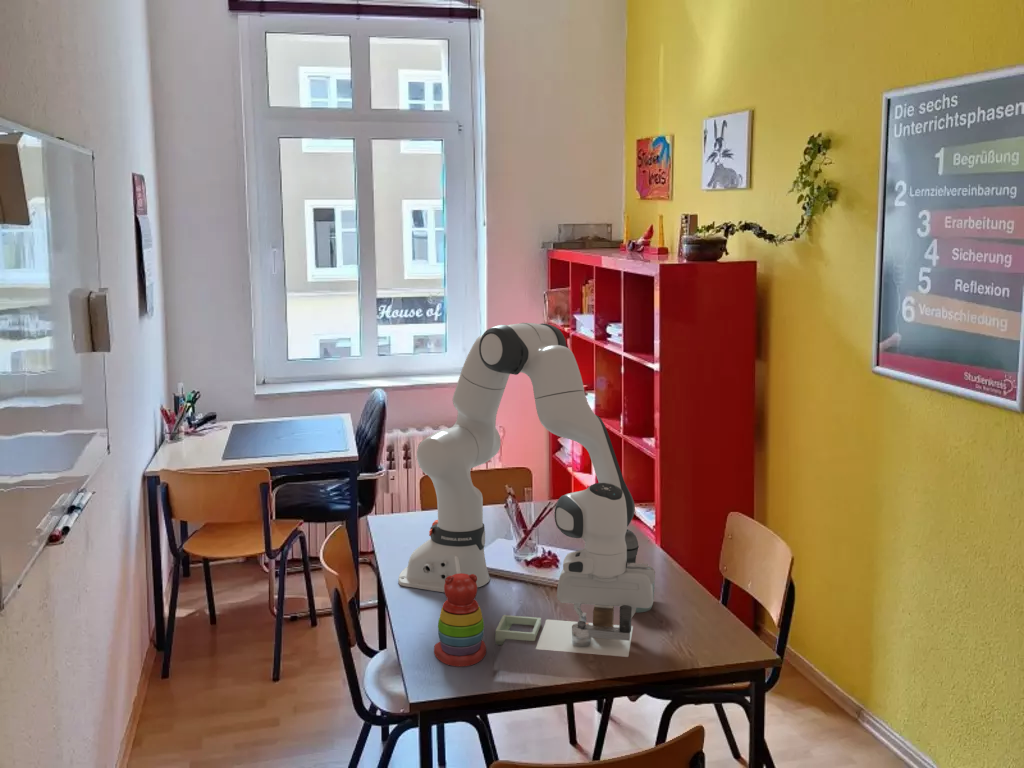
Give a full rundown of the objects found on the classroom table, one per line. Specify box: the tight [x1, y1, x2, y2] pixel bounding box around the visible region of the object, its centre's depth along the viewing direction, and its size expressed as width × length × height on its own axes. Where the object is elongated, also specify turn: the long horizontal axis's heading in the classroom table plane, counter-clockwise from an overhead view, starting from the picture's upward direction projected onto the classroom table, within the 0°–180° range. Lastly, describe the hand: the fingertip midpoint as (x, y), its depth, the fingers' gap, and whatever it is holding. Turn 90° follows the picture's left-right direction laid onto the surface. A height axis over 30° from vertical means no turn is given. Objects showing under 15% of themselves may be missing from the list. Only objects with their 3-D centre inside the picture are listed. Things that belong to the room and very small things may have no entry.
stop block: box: [592, 605, 615, 639], centre depth 206 cm, size 4×4×6 cm
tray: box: [494, 614, 542, 646], centre depth 208 cm, size 8×8×3 cm
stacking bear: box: [433, 573, 487, 668], centre depth 198 cm, size 11×10×18 cm
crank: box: [572, 605, 632, 647], centre depth 201 cm, size 12×4×8 cm, turn 79°
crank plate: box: [535, 619, 634, 658], centre depth 205 cm, size 19×15×2 cm
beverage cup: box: [625, 528, 640, 563], centre depth 232 cm, size 7×7×20 cm
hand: (604, 623), depth 206 cm, fingers open, 8 cm apart
